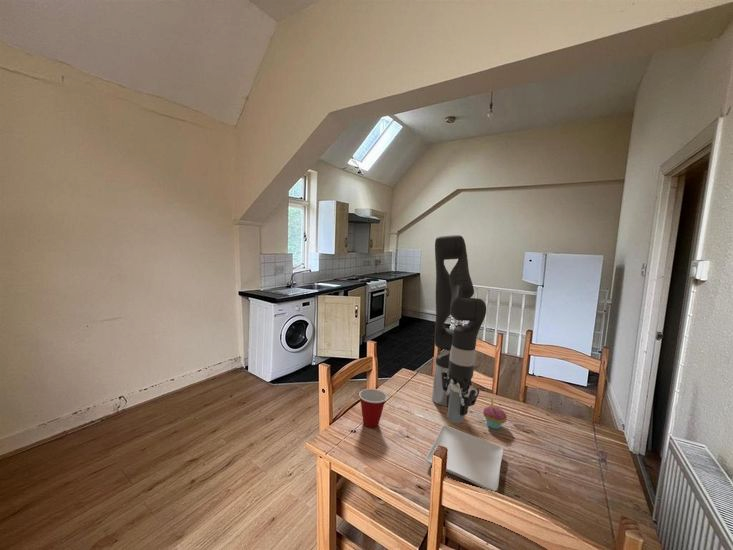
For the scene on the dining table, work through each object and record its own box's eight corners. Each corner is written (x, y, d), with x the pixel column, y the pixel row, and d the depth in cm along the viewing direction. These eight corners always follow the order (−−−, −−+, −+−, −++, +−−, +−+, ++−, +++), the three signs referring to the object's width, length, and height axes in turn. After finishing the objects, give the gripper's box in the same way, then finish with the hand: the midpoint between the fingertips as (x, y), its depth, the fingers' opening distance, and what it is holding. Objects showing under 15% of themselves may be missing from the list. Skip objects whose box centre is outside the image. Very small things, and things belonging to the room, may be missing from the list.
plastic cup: (387, 418, 117) (389, 390, 115) (381, 435, 106) (384, 404, 105) (361, 412, 119) (363, 384, 118) (353, 428, 109) (355, 398, 108)
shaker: (454, 411, 98) (458, 378, 97) (467, 420, 94) (471, 386, 92) (443, 415, 96) (447, 381, 94) (455, 424, 91) (459, 389, 90)
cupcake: (481, 428, 115) (485, 399, 113) (482, 416, 123) (485, 389, 121) (505, 434, 112) (510, 405, 110) (504, 422, 119) (508, 394, 118)
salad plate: (496, 501, 83) (497, 490, 82) (423, 468, 93) (424, 458, 92) (502, 455, 101) (504, 446, 101) (441, 432, 111) (442, 423, 111)
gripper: (489, 367, 88) (482, 420, 90) (453, 350, 100) (448, 396, 103) (471, 372, 84) (465, 426, 87) (437, 353, 97) (432, 401, 99)
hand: (456, 409), depth 95 cm, fingers closed on shaker, 5 cm apart
